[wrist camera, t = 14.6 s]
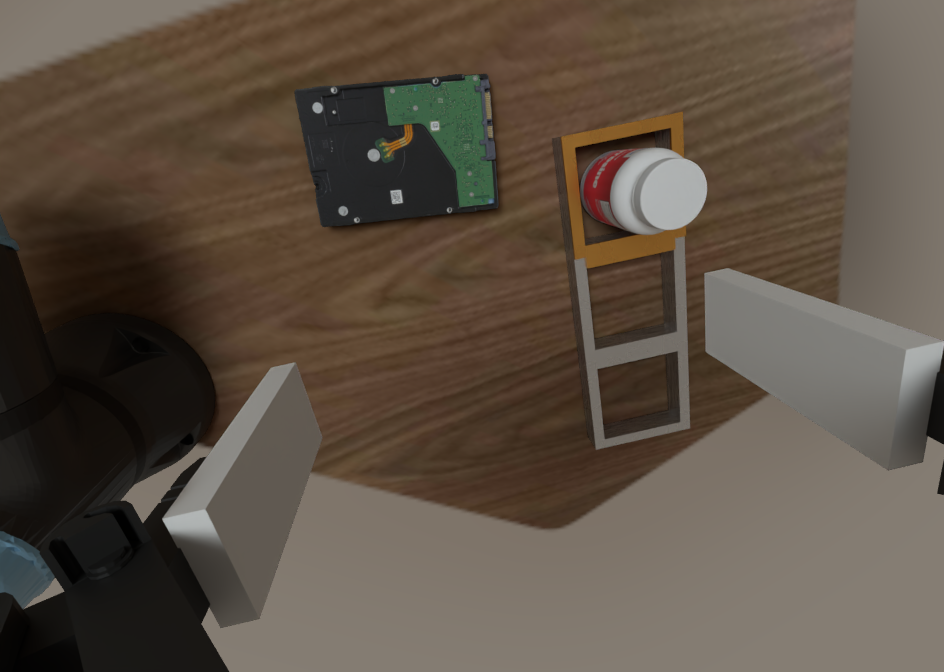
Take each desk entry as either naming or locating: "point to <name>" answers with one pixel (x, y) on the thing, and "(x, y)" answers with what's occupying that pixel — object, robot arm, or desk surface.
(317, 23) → the desk surface
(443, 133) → the disk drive
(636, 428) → the socket rail
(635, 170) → the pill bottle
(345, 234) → the desk surface
